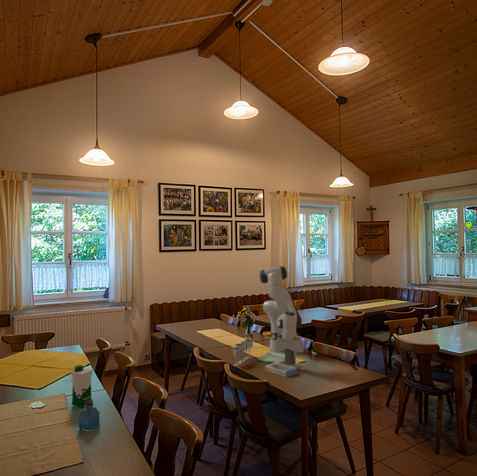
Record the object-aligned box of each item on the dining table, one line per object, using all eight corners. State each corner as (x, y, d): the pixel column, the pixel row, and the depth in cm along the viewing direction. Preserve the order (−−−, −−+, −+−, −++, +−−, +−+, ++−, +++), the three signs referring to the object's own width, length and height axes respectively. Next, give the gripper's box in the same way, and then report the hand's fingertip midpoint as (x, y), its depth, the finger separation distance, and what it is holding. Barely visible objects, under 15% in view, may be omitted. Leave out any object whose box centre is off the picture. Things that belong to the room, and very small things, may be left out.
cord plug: (289, 361, 258) (289, 347, 258) (295, 363, 255) (295, 348, 255) (285, 363, 255) (284, 348, 255) (291, 365, 251) (290, 350, 251)
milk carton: (81, 400, 204) (82, 363, 204) (94, 403, 200) (94, 365, 201) (69, 406, 196) (69, 368, 196) (82, 409, 192) (82, 370, 193)
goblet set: (238, 366, 260) (238, 347, 260) (231, 365, 262) (230, 346, 262) (254, 356, 285) (254, 338, 285) (247, 355, 287) (247, 337, 288)
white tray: (284, 363, 265) (284, 358, 265) (306, 369, 251) (306, 364, 251) (264, 370, 250) (264, 365, 251) (287, 377, 237) (287, 371, 237)
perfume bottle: (78, 429, 171) (79, 403, 171) (88, 423, 177) (88, 398, 177) (89, 432, 169) (89, 405, 169) (99, 425, 174) (99, 399, 175)
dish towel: (290, 357, 282) (290, 352, 282) (276, 365, 262) (276, 360, 262) (270, 354, 291) (270, 349, 291) (255, 362, 271) (255, 357, 272)
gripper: (305, 337, 250) (305, 358, 250) (281, 332, 264) (281, 352, 264) (299, 339, 245) (300, 360, 245) (275, 334, 260) (275, 354, 260)
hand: (290, 356), depth 255 cm, fingers closed on cord plug, 5 cm apart
